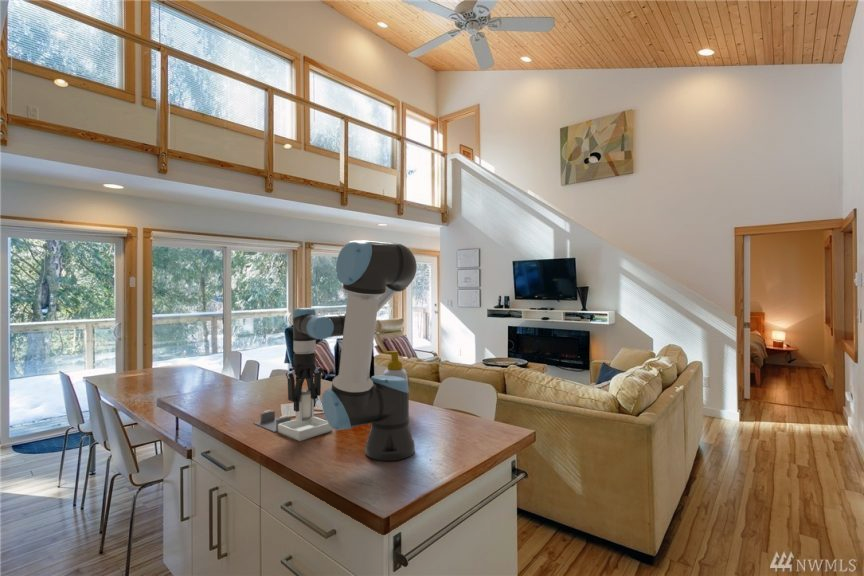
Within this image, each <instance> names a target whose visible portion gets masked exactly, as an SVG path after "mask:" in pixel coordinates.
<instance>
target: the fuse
mask: <svg viewBox="0 0 864 576" xmlns="http://www.w3.org/2000/svg"><path fill="white" fill-rule="evenodd" d="M300 402H302V421H308V420H311V390H309V389H308V388H304V389H303V388H302V391H301V397H300Z"/></svg>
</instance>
